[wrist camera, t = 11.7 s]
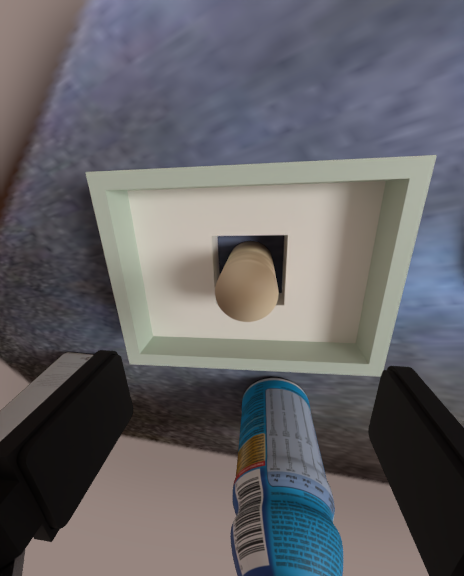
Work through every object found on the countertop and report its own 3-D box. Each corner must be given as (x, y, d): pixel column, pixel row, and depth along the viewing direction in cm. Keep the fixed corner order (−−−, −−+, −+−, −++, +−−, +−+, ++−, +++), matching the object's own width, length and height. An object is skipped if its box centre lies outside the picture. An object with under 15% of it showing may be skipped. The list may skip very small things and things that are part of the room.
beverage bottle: (307, 372, 28) (400, 722, 9) (311, 424, 31) (387, 769, 12) (236, 376, 29) (196, 688, 11) (246, 425, 32) (228, 738, 14)
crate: (355, 336, 26) (381, 376, 20) (155, 330, 28) (129, 364, 23) (386, 166, 20) (436, 155, 14) (129, 177, 22) (85, 172, 17)
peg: (282, 262, 23) (292, 294, 16) (250, 291, 25) (246, 332, 18) (250, 231, 23) (245, 249, 15) (219, 262, 24) (202, 293, 17)
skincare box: (66, 350, 31) (-90, 476, 17) (110, 354, 30) (-16, 487, 16) (81, 399, 34) (-41, 540, 20) (121, 403, 33) (23, 551, 20)
